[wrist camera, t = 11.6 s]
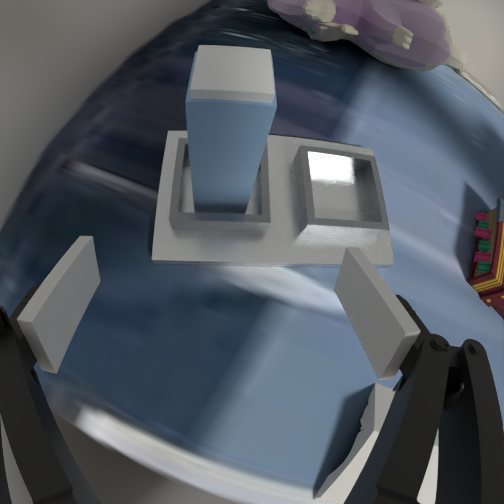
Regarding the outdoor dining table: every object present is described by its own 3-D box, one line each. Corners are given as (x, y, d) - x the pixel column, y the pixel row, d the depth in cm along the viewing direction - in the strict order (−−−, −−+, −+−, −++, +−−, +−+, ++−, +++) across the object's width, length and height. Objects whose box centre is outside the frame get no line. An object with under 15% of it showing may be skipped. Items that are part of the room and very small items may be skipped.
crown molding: (310, 497, 19) (324, 515, 16) (371, 380, 23) (393, 384, 19) (476, 502, 19) (492, 508, 16) (512, 425, 23) (529, 427, 19)
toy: (409, 59, 44) (264, 22, 43) (430, -8, 31) (276, -55, 29) (484, 129, 27) (258, 60, 25) (528, 28, 13) (281, -87, 12)
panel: (367, 155, 29) (381, 138, 25) (387, 267, 25) (406, 258, 22) (169, 138, 26) (166, 116, 23) (154, 263, 23) (146, 252, 20)
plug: (245, 161, 25) (273, 40, 13) (245, 213, 23) (279, 97, 11) (198, 159, 24) (197, 35, 12) (194, 211, 23) (184, 92, 11)
